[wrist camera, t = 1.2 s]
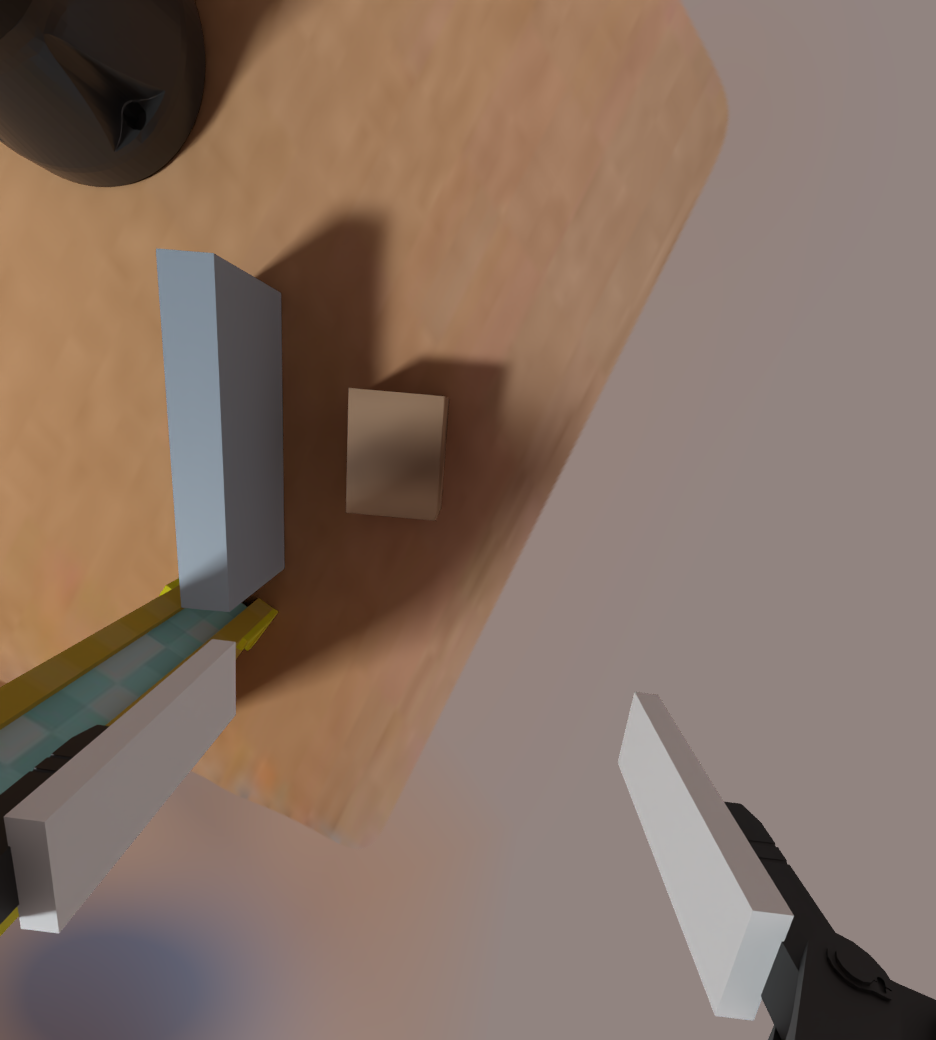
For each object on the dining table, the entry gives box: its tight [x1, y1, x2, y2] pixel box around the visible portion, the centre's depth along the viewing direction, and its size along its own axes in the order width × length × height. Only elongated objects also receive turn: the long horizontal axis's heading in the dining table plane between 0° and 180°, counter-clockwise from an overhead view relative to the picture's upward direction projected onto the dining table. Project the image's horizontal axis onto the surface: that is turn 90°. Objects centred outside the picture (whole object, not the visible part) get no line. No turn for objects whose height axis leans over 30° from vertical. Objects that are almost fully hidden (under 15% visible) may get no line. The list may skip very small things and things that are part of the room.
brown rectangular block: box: [346, 388, 449, 521], centre depth 31 cm, size 8×6×4 cm
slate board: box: [156, 249, 285, 612], centre depth 29 cm, size 20×3×8 cm, turn 175°
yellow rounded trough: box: [0, 578, 278, 936], centre depth 26 cm, size 17×7×25 cm, turn 142°
